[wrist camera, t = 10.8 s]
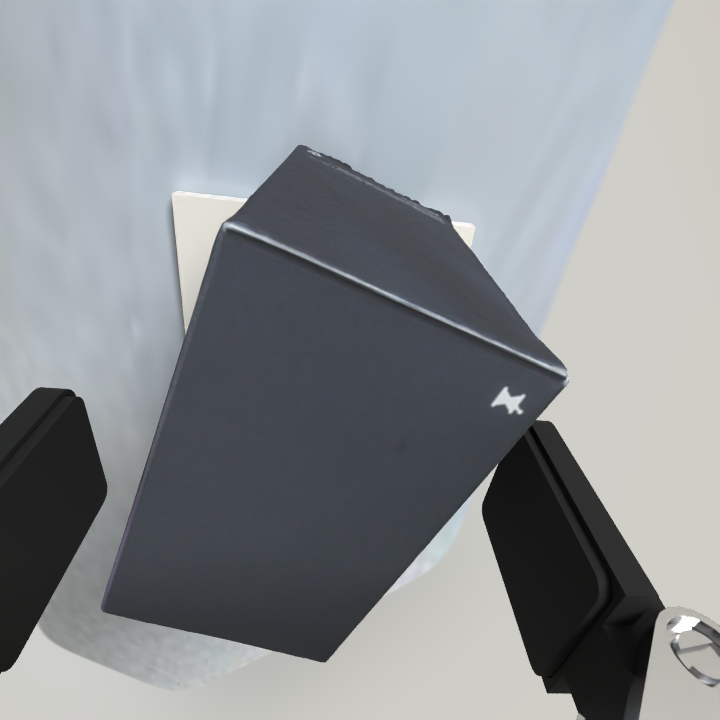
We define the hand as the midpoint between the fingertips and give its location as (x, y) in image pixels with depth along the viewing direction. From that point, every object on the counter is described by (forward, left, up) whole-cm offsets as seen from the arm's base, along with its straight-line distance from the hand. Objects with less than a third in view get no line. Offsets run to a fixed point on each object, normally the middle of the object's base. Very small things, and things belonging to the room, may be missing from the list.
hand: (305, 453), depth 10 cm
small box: (0, 0, -9) cm, 9 cm away
